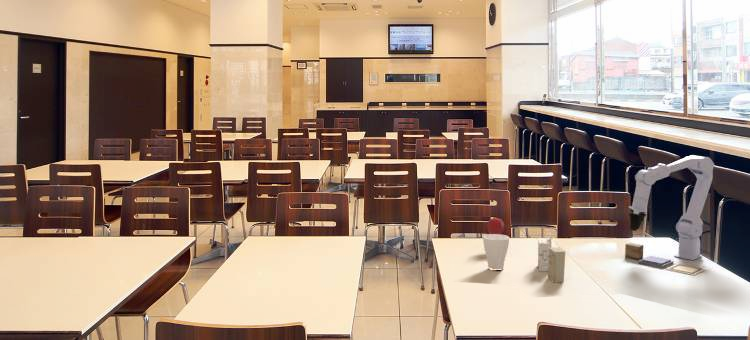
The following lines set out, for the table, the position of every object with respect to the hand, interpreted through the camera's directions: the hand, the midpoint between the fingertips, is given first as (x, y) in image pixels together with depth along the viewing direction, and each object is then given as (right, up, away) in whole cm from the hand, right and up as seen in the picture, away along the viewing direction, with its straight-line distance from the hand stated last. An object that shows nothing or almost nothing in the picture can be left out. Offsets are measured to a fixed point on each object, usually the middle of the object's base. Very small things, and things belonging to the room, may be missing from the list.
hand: (634, 229), depth 261 cm
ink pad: (+7, -14, -4) cm, 16 cm away
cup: (-61, -16, -9) cm, 63 cm away
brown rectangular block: (+2, -13, +6) cm, 14 cm away
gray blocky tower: (-41, -15, -9) cm, 44 cm away
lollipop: (-55, -12, +21) cm, 60 cm away
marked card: (+15, -15, -13) cm, 25 cm away
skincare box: (-40, -17, -24) cm, 50 cm away
